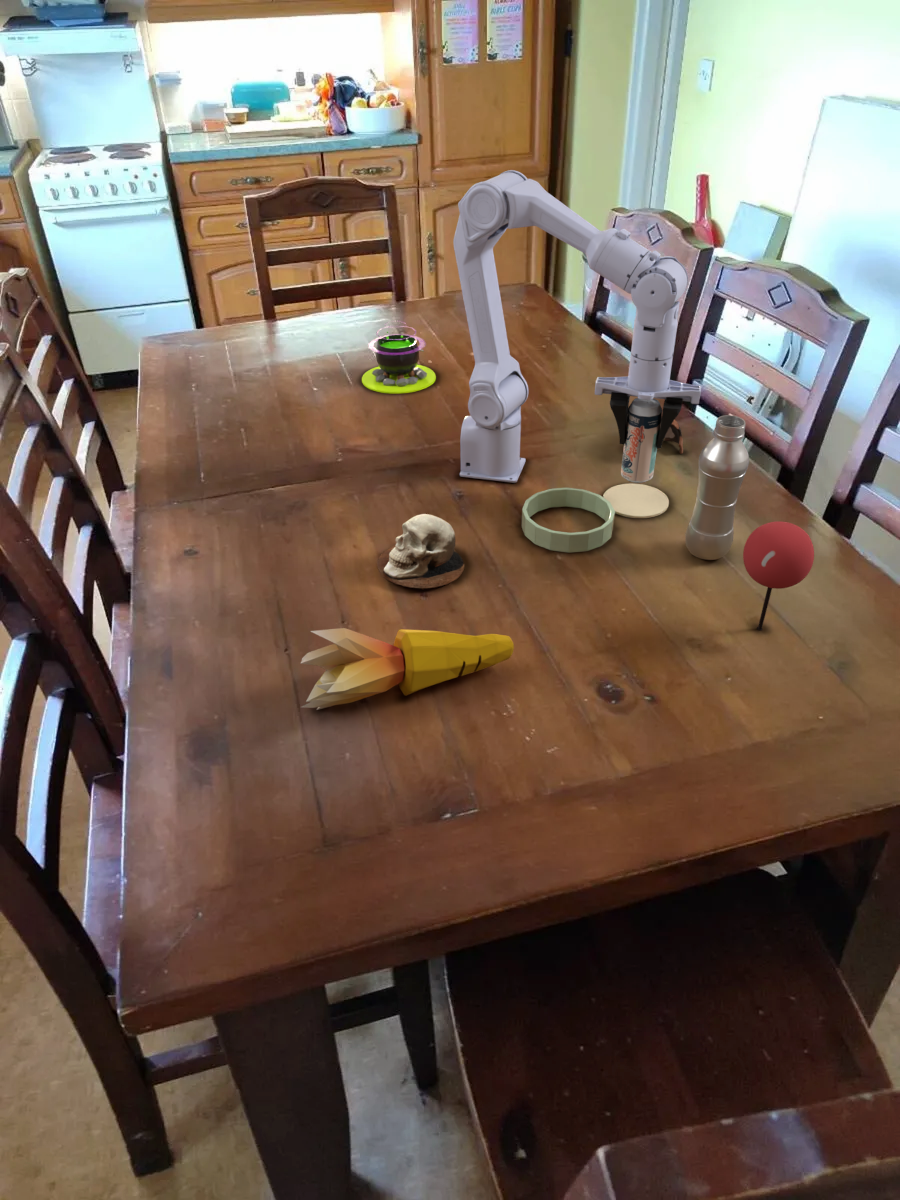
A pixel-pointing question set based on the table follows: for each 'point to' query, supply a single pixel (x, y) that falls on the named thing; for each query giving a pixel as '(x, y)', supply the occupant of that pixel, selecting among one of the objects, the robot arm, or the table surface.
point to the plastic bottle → (718, 490)
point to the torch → (397, 662)
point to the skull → (422, 554)
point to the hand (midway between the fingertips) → (640, 443)
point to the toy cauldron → (398, 365)
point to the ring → (565, 539)
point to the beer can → (641, 440)
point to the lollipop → (777, 557)
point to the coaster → (637, 500)
